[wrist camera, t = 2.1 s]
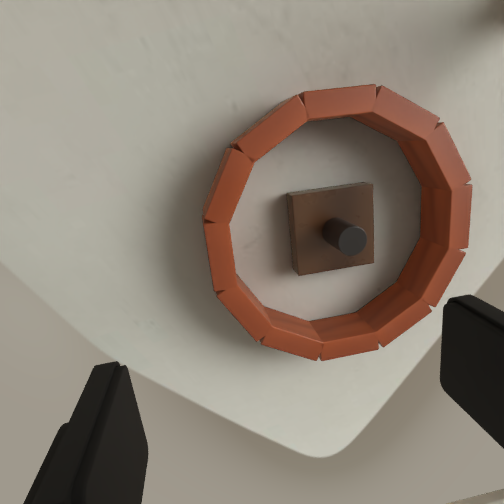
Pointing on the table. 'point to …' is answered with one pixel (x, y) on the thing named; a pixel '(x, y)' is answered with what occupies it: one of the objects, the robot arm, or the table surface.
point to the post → (331, 227)
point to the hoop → (419, 263)
